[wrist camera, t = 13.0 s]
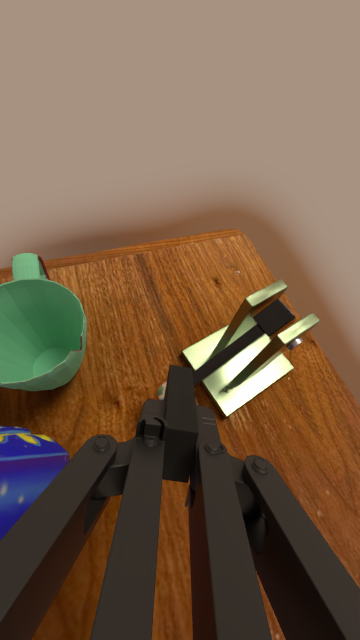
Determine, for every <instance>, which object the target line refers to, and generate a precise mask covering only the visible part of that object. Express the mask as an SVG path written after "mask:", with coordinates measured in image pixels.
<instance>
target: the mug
mask: <svg viewBox="0 0 360 640" xmlns="http://www.w3.org/2000/svg"><path fill="white" fill-rule="evenodd" d="M12 273H13V281H11V282H7V283H3V284H1V285H0V387H5V388H10V389H22V390H27V391H42V390H52V389H55V388H57V387H60V386H63V385H65V384H66V383H68V382H69V381H70V380H71V379H72V378H73V377H74V375H75V374H76V373H77V371H78V370H79V368H80V365H81V362H82V360H83V357H84V354H85V349H86V329H87V319H86V315H85V312H84V310H83V307H82V304H81V302H80V300H79V299H78V298H77V297H76V295H75V294H74V293H73V292H72V291H71V290H70V289H68V288H66V287H65V286H63V285H61V284H59V283H57V282H54V281H50V280H49V276H48V273H47V271H46V268H45V265H44V263H43V260H42V258H41V257H40V256H38V255H35V254H32V253H22V254H19V255H15V256H14V257H13V258H12Z"/></svg>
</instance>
